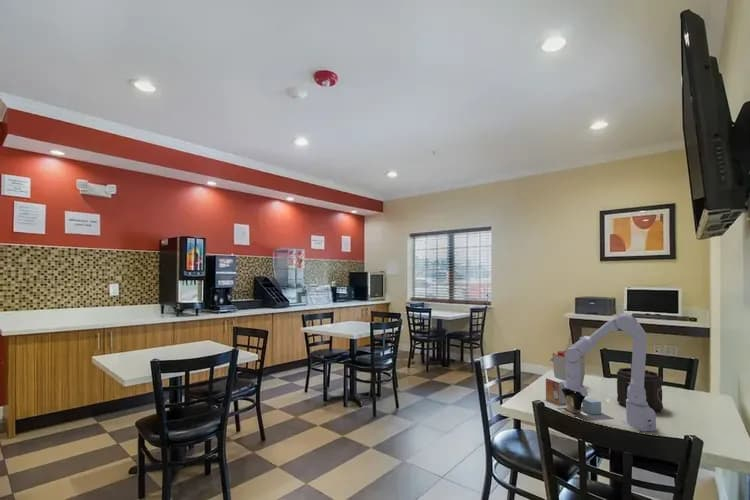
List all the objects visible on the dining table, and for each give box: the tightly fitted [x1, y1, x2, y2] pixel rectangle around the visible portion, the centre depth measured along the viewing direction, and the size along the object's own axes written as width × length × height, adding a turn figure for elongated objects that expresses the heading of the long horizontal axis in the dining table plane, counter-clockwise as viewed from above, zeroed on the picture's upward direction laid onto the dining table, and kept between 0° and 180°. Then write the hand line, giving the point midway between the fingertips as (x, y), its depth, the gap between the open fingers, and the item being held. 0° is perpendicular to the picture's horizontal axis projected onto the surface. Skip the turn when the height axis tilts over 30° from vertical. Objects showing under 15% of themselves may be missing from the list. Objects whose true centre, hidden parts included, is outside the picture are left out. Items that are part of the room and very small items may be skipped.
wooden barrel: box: [616, 367, 664, 414], centre depth 174 cm, size 18×18×16 cm
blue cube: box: [581, 397, 602, 414], centre depth 165 cm, size 5×5×5 cm
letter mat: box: [556, 406, 615, 422], centre depth 163 cm, size 15×16×1 cm
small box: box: [545, 376, 567, 405], centre depth 178 cm, size 8×6×10 cm
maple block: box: [566, 395, 581, 413], centre depth 164 cm, size 4×4×6 cm
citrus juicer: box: [549, 348, 586, 387], centre depth 206 cm, size 16×17×20 cm
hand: (573, 407), depth 164 cm, fingers closed on maple block, 4 cm apart
